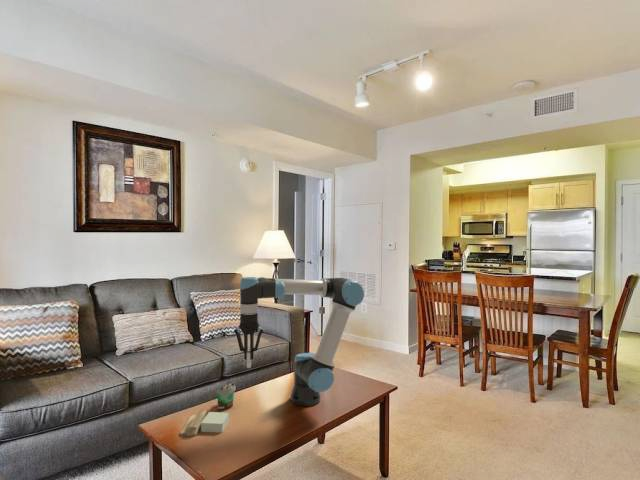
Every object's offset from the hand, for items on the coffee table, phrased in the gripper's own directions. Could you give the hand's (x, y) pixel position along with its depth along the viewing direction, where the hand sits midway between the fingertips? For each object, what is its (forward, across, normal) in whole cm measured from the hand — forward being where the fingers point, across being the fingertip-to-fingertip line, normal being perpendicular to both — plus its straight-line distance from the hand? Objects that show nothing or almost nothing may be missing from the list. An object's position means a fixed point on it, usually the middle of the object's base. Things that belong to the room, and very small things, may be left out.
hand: (248, 366), depth 167 cm
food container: (+25, +12, -17) cm, 33 cm away
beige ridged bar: (+24, +23, +2) cm, 34 cm away
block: (+25, +14, +2) cm, 29 cm away
